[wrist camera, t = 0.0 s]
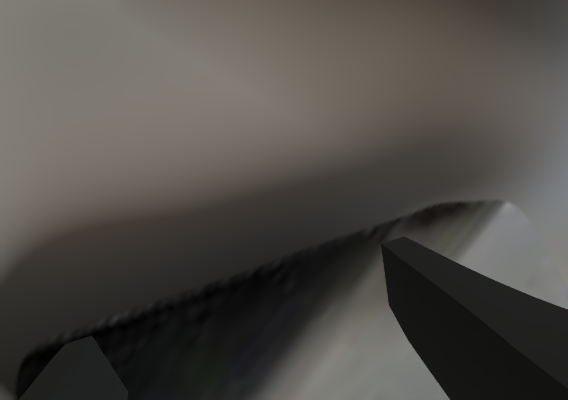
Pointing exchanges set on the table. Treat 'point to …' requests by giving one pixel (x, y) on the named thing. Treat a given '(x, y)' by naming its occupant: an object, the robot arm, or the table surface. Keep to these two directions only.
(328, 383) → the table surface
